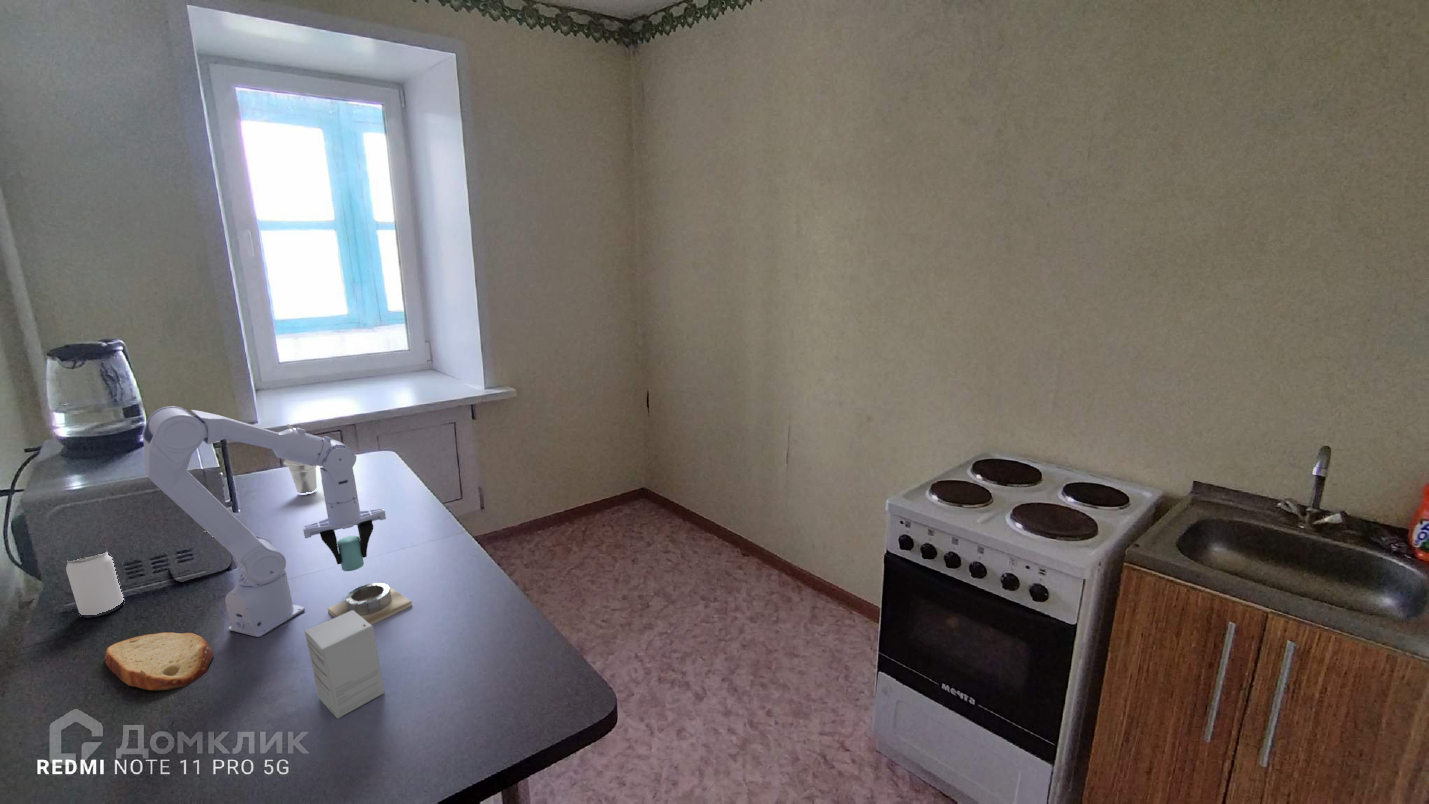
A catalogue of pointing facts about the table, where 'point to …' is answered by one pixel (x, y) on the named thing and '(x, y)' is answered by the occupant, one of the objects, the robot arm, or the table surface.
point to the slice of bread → (159, 660)
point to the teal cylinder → (350, 553)
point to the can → (94, 584)
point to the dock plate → (395, 606)
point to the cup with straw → (302, 474)
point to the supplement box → (345, 662)
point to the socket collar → (365, 592)
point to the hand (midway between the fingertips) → (351, 558)
